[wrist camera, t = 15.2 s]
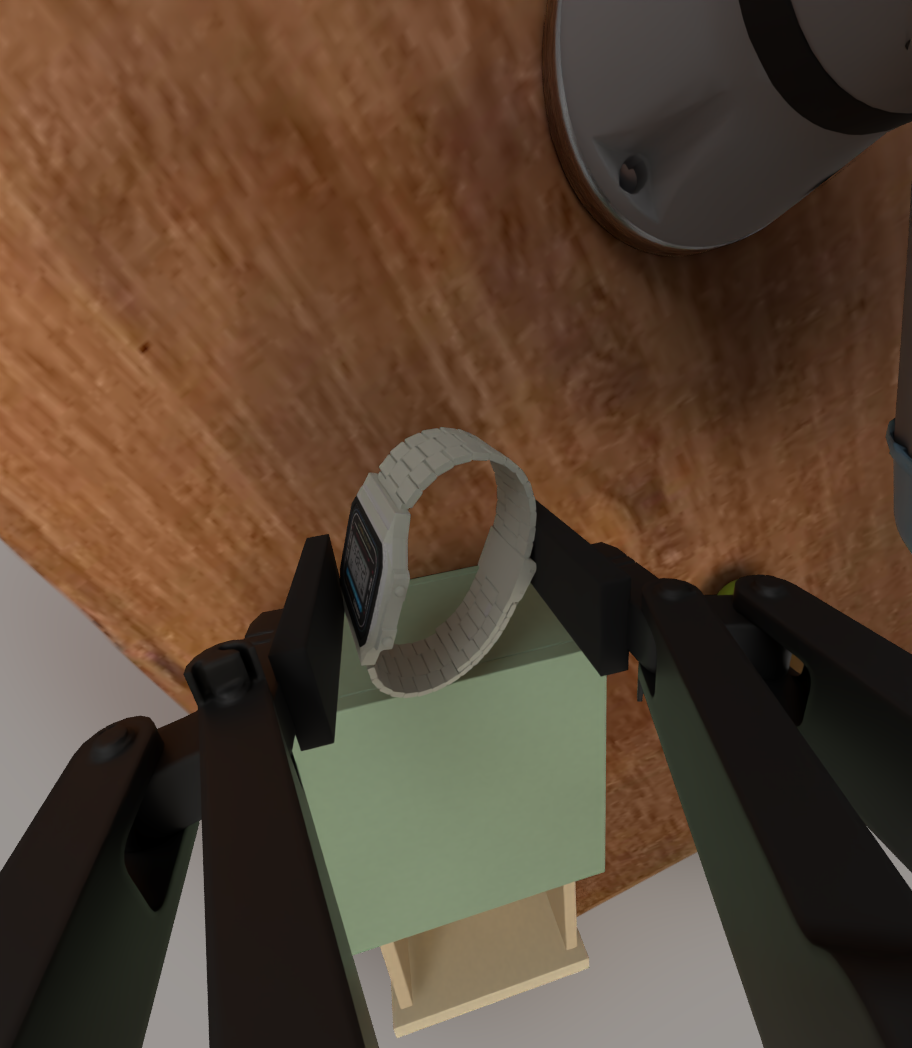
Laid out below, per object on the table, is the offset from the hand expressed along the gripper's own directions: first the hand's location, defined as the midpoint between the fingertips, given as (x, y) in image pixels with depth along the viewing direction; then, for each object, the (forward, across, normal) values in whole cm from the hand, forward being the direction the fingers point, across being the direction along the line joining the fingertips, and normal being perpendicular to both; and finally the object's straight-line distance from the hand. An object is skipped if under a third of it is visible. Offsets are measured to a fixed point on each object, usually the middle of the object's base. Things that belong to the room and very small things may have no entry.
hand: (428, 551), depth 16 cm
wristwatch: (0, 0, 0) cm, 1 cm away
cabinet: (+9, 0, -14) cm, 16 cm away
